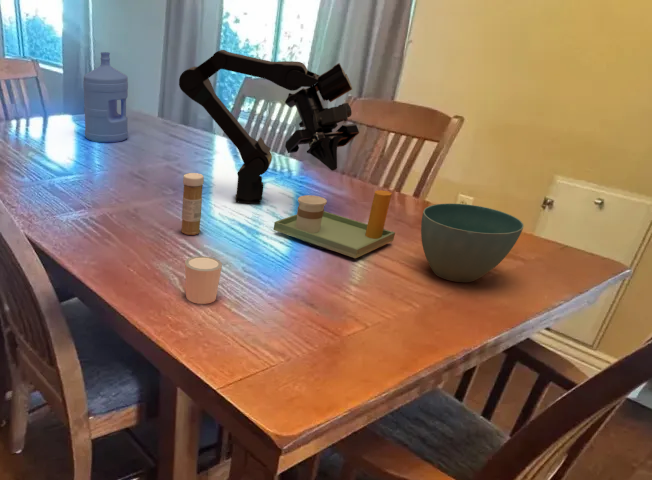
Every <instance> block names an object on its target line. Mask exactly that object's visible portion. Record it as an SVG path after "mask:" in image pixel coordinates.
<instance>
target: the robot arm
mask: <svg viewBox="0 0 652 480" xmlns="http://www.w3.org/2000/svg"><path fill="white" fill-rule="evenodd" d="M220 70H225V71H229V72H233V73H238V74H242V75H246V76H251V77H256V78H260V79H264V80H267V81H270V82H271V83H273V84H274V85H277V86H278V87H281V88H283V89H284V90H285V89H286V90H288V91H290V92H289V93H287V98H286V99H285V101H284V104H285V105H286V106H287V107H288V108H289V109H290V108H293V107H294V106H295V107H296V110H297V113H298V115H299V118H300V120H301V121H300V122H299V123H298V125H299V128H304V129H296V130H294V132H293V133H292V134H291V135H290V136H289V137H288V138H287V139H286V141H285V145H284V147H285V150H286V152H287V154H291V153H298V151H299V150H300V146H301V145H307V144H308V149H307V150H306V154H308V155H311V156H312V157H314V158H315V159H317V160H318V161H320V162H321V163H322V164H323V165H324V166H326V167H327V168H328V169H329V170H330V171H332V172H333V171H336V170H337V169H338V148H340V147H341V148H342V147H345V146H346V145H348V144H349V143H350V142H351V141H352V140H353V139H354V138H356V136H358V135H359V134H360V130H359V128H358V126H357V124H354V123H350V124H342V125H341V126H340V127H339V128H338V129H336V128H337V127H338V124H339V123H341V122H346V121H348V120H349V118H350V117H351V116H352V108H351V106H350V104H349V103H348V102H343V103H342V104H339V105H337V106H332V107H329V108H328V107H324V105H323V103H322V101H321V98H322V100H323V101H324V102H325V101H326V102H327V101H328V102H329V103H333V101H335V100H337V99H339V98H341V97H343V96H344V95H345V94H347V93H348V92H351V91H353V86H352V83H351V81H350V79H349V77H348V74H347V73H346V72H345V70H344V69H343V67H342V65H341V63H340V62H338V63H336V64H335V65H333V66H332V67H331V68H330V69H328V70H326V71H324V73H322V74H318V73H315V72H313V71H311V70H308V68H307V66H306V64H304V62H301V61H291V60H289V61H288V60H287V61H286V60H284V61H271V60H266V59H262V58H257V57H254V56H253V57H252V56H248V55H243V54H239V53H234V52H230V51H227V50H225V49H219V50H218V51H216V52H214V53H213V55H212V56H210V57H209V58H208V59H206V60H205V61H203V62H202V63H201V64H199V65H198V66H192V67H189V68H187V69H185V70H184V71H183V72H182V73H181V74H180V76H179V79H178V87H179V89H180V90H181V91H182V92H183V94H185V95H186V96H187V97H188V98H190V100H192V101H193V102H195V103H197V104H198V105H200V106H201V107H202V108H203V109H204V110H205V111H206V113H207V114H208V115H209V116H210V118H212V120H213V121H214V122H215V123H216V124H217V125H218V127H219V128H220V129H221V131H223V133H224V134H225V135H226V137H227V138H228V139H229V140H230V141H231V143H232V144H233V145H234V147H236V148H237V150H238V153H239V155H240V158H241V161H242V162H243V164H242V165H241V167H240V168H239V169H238V170H237V184H236V192H235V203H237V204H250V205H251V204H252V205H254V204H255V205H261V201H262V200H263V194H264V186H265V185H264V182H263V177H262V175H264V174H266V172H267V171H268V170H269V167H271V164H272V160H273V155H272V153H271V149H272V148H271V147H269V146H268V145H267V144H266V143H265V141H264V139H263V138H262V136H260V137H259V138H258V139H257V140H256V138H255V139H254V138H253V137H252V136H250V134H249V133H248V132H247V131H246V130H245V128H244V127H243V126H242V125H241V123H240V122H239V121H238V120H237V118H236V117H235V116H234V115H233V114H232V112H231V111H230V110H229V108H228V107H227V106H226V105H225V103H223V101H222V99H220V98H219V96H218V95H217V93H216V92H215V88H214V87H213V84H212V81H211V80H210V78H211V77H212V76H214V75H215V74H216V73H218V72H219V71H220ZM300 88H301V89H300ZM291 91H296V92H294V93H291ZM318 92H319V93H318ZM319 95H320V96H319ZM320 97H321V98H320ZM335 129H336V131H333V130H335ZM299 145H300V146H299Z"/></svg>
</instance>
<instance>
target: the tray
mask: <svg viewBox="0 0 652 480" xmlns="http://www.w3.org/2000/svg"><path fill="white" fill-rule="evenodd" d="M392 195H393V193H392V192H391V191H389V190H382V189H381V190H380V189H377V190H375V191H374V193H373V197H372V202H371V207H370V211H369V216H368V221H367V223H365V222H362V221H358V220H354V219H353V218H348V217H346V216H341V215H339V214H336V213H332V212H328V211H326V210H324V213H323V217H322V221H321V226H320V231H319V232H317V233H309V232H306V231H303V230H300V229H297V228H295V227H296V221H297V213H296V214H293V215H290V216H287V217H285V218H282V219H279V220H277V221H274V223H273V231H275V232H278V233H280V234H284V235H287V236H289V237H292V238H296V239H298V240H301V241H303V240H304V241H307V242H310V243H312V244H315V245H318V246H321V247H324V248H327V249H330V250H329V251H333V252H336V253H339V254H342V255H344V256H347V257H349V258H353V259H357V258H359V257H361V256H363V255H364V256H365V255H366V254H368V253H370V252H373V251H374V250H376V249H379V248H382V247H384V246H385V245H387V244H389V243H392V242H394V240H395V235H396V232H395V231H393V230H392V231H391V230H389V229H385V225H386V220H387V215H388V212H389V207H390V203H391V199H392ZM304 241H303V242H304Z"/></svg>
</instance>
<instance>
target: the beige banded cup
mask: <svg viewBox="0 0 652 480" xmlns="http://www.w3.org/2000/svg"><path fill="white" fill-rule="evenodd" d="M297 202H298V206H297V210H296V214H297V221H296V227H295V228H297V229H300V230H303V231H306V232H309V233H317V232H319V231H320V226H321V221H322V217H323V213H324V211H325V209H324V208H325V206H326V205H327V202H328V201H327V199H326V198H324V197H322V196H319V195H310V194H309V195H308V194H307V195H301V196H298V198H297Z"/></svg>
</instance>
